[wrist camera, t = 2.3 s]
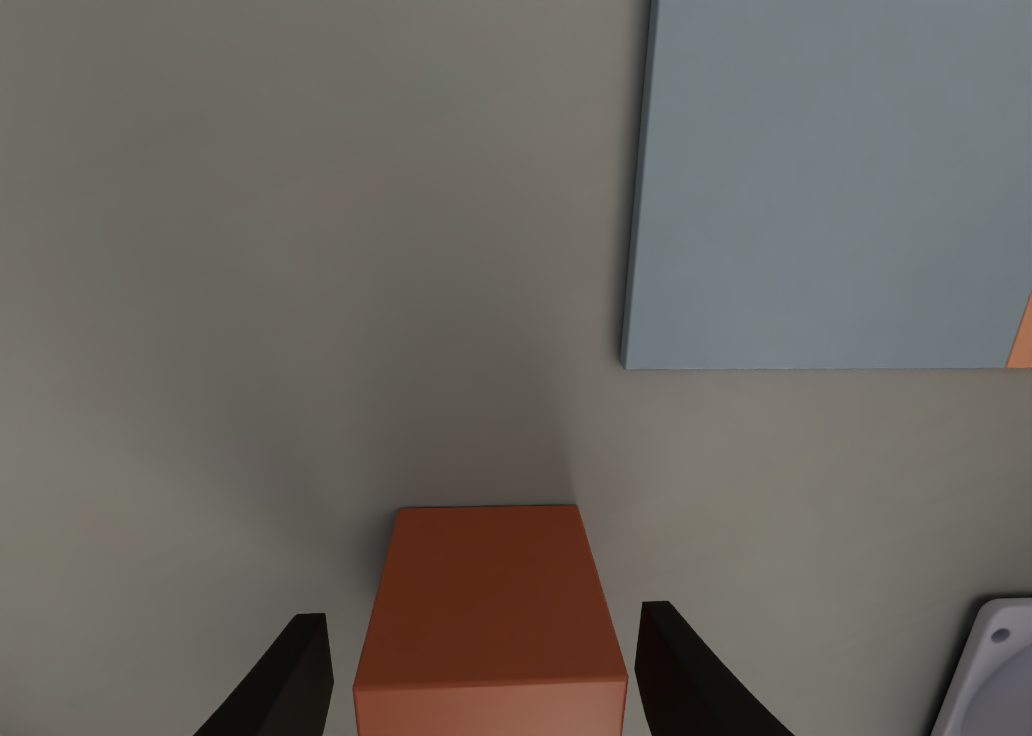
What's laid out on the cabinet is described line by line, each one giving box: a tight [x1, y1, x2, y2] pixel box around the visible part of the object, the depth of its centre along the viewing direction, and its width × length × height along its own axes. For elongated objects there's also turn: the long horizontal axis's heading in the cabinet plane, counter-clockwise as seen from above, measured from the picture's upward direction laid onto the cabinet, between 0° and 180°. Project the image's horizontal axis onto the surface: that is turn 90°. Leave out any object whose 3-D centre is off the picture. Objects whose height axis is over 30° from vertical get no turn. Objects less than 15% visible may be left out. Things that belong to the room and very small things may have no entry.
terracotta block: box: [353, 505, 628, 736], centre depth 12 cm, size 4×4×5 cm
